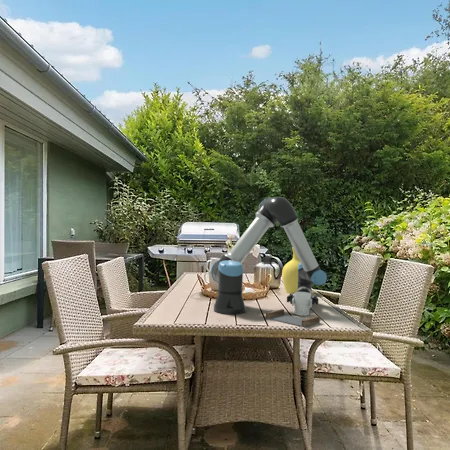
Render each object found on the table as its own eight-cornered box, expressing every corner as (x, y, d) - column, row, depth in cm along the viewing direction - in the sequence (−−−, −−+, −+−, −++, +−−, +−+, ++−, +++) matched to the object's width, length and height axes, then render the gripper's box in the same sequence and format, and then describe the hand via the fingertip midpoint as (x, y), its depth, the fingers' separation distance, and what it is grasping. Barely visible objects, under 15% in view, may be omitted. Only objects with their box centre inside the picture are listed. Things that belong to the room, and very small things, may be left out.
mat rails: (265, 317, 181) (266, 312, 181) (281, 313, 190) (281, 309, 190) (304, 326, 167) (304, 321, 167) (319, 321, 176) (319, 316, 176)
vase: (292, 289, 265) (294, 246, 265) (313, 293, 253) (314, 248, 253) (276, 291, 255) (277, 246, 254) (296, 295, 242) (297, 248, 242)
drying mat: (265, 318, 181) (265, 317, 181) (281, 314, 190) (281, 313, 190) (304, 327, 167) (304, 326, 167) (319, 322, 176) (319, 321, 176)
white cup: (290, 313, 192) (290, 292, 192) (299, 311, 197) (300, 291, 197) (304, 317, 186) (304, 295, 186) (313, 314, 192) (314, 293, 191)
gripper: (323, 303, 207) (324, 313, 184) (283, 301, 211) (279, 309, 189) (324, 289, 207) (324, 296, 184) (283, 286, 211) (279, 293, 189)
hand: (301, 303), depth 187 cm, fingers closed on white cup, 7 cm apart
